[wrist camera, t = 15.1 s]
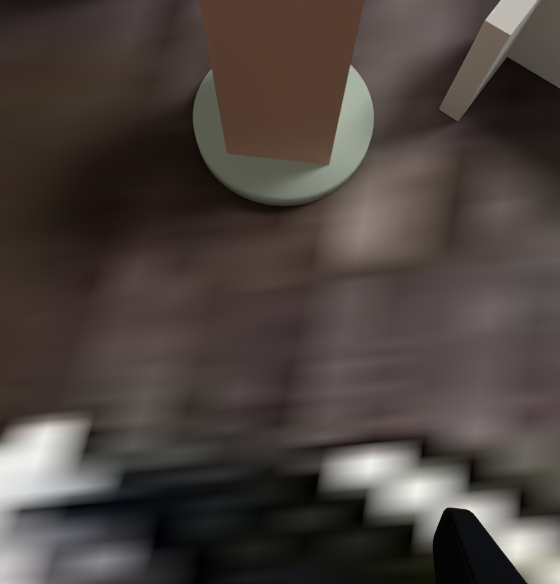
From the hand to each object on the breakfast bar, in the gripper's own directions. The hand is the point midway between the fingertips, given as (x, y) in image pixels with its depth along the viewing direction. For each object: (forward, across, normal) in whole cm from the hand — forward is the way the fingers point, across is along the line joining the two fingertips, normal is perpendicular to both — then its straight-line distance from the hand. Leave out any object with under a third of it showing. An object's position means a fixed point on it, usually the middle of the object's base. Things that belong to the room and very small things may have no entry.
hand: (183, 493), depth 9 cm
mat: (+21, 0, -2) cm, 21 cm away
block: (+20, 0, -2) cm, 20 cm away
